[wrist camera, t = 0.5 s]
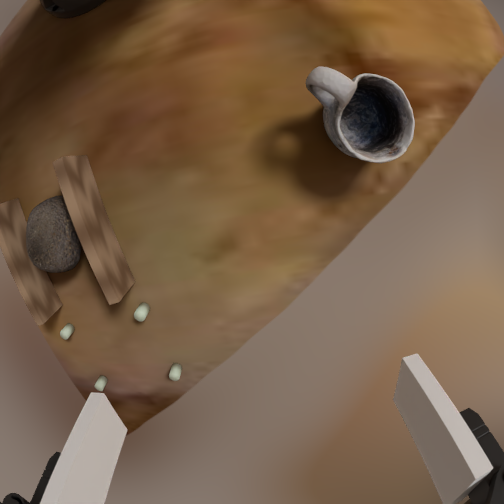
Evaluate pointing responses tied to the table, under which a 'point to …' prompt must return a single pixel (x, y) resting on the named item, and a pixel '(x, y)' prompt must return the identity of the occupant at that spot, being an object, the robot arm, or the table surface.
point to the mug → (363, 114)
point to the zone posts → (140, 316)
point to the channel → (88, 230)
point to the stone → (52, 237)
